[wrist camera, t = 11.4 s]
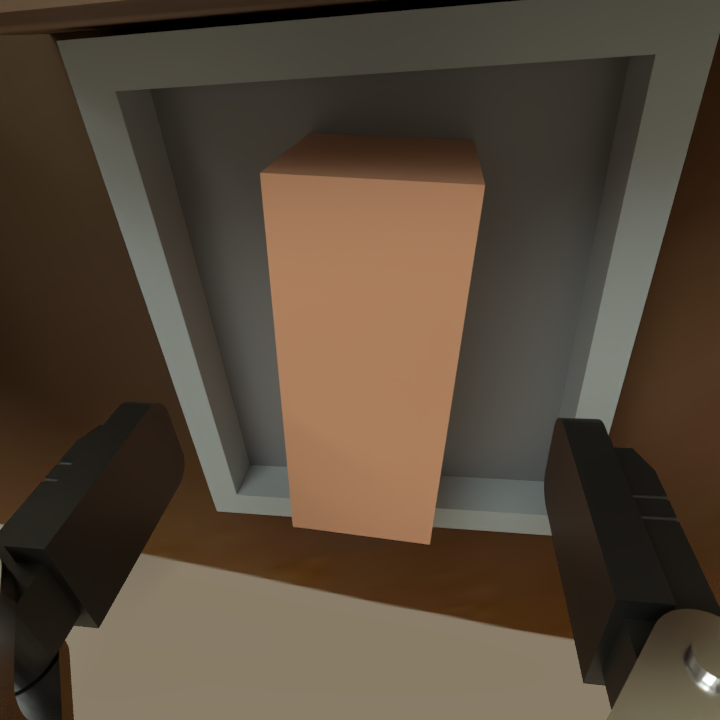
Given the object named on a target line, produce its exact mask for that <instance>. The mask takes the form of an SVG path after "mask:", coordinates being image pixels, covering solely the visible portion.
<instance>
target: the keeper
mask: <svg viewBox="0 0 720 720" xmlns="http://www.w3.org/2000/svg"><path fill="white" fill-rule="evenodd" d="M719 34H720V0H519V1H508V2H496V3H485V4H473V5H462V6H450V7H439V8H428V9H416V10H405V11H393V12H382V13H370V14H359V15H348V16H336V17H325V18H313V19H302V20H290V21H279V22H268V23H256V24H245V25H233V26H222V27H210V28H199V29H188V30H176V31H165V32H153V33H142V34H130V35H119V36H108V37H96V38H85V39H73V40H62V41H56V42H57V45H58V48H59V50H60V53H61V56H62V59H63V62H64V65H65V68H66V71H67V74H68V77H69V80H70V83H71V86H72V88H73V91H74V94H75V97H76V100H77V103H78V106H79V109H80V112H81V115H82V118H83V121H84V124H85V126H86V129H87V132H88V135H89V138H90V141H91V144H92V147H93V150H94V153H95V156H96V159H97V162H98V165H99V167H100V170H101V173H102V176H103V179H104V182H105V185H106V188H107V191H108V194H109V197H110V200H111V203H112V205H113V208H114V211H115V214H116V217H117V220H118V223H119V226H120V229H121V232H122V235H123V238H124V241H125V244H126V246H127V249H128V252H129V255H130V258H131V261H132V264H133V267H134V270H135V273H136V276H137V279H138V282H139V284H140V287H141V290H142V293H143V296H144V299H145V302H146V305H147V308H148V311H149V314H150V317H151V320H152V323H153V325H154V328H155V331H156V334H157V337H158V340H159V343H160V346H161V349H162V352H163V355H164V358H165V361H166V363H167V366H168V369H169V372H170V375H171V378H172V381H173V384H174V387H175V390H176V393H177V396H178V399H179V402H180V404H181V407H182V410H183V413H184V416H185V419H186V422H187V425H188V428H189V431H190V434H191V437H192V440H193V442H194V445H195V448H196V451H197V454H198V457H199V460H200V463H201V466H202V469H203V472H204V475H205V478H206V480H207V483H208V486H209V489H210V492H211V495H212V498H213V501H214V504H215V507H216V510H217V511H220V512H234V513H248V514H262V515H275V516H289V517H292V512H291V501H290V490H289V480H288V469H287V458H286V447H285V437H284V426H283V415H282V404H281V394H280V383H279V372H278V362H277V351H276V340H275V329H274V319H273V308H272V297H271V286H270V276H269V265H268V254H267V243H266V233H265V222H264V211H263V201H262V190H261V179H260V172H262V171H263V170H264V169H265V168H267V167H268V166H269V165H270V164H272V163H273V162H274V161H275V160H277V159H278V158H279V157H280V156H282V155H283V154H284V153H285V152H286V151H288V150H289V149H290V148H291V147H293V146H294V145H295V144H296V143H298V142H299V141H300V140H301V139H303V138H304V137H305V136H306V135H308V134H309V133H322V134H344V135H367V136H389V137H412V138H434V139H457V140H474V142H475V146H476V150H477V154H478V158H479V162H480V166H481V170H482V174H483V178H484V182H485V190H484V196H483V203H482V209H481V216H480V222H479V229H478V235H477V242H476V248H475V255H474V261H473V268H472V274H471V281H470V287H469V294H468V300H467V307H466V313H465V320H464V326H463V332H462V339H461V345H460V352H459V358H458V365H457V371H456V378H455V384H454V391H453V397H452V404H451V410H450V417H449V423H448V430H447V436H446V443H445V449H444V456H443V462H442V469H441V475H440V482H439V488H438V495H437V501H436V507H435V514H434V520H433V527H441V528H455V529H468V530H482V531H496V532H510V533H524V534H537V535H551V536H552V533H551V529H550V524H549V519H548V515H547V510H546V505H545V497H544V477H545V470H546V465H547V460H548V455H549V450H550V445H551V440H552V435H553V430H554V425H555V422H556V420H557V418H584V419H600V420H601V421H602V422H603V423H604V425H605V428H606V430H607V433H608V435H609V432H610V428H611V425H612V421H613V417H614V414H615V410H616V406H617V403H618V399H619V396H620V392H621V388H622V385H623V381H624V378H625V374H626V370H627V367H628V363H629V360H630V356H631V352H632V349H633V345H634V341H635V338H636V334H637V331H638V327H639V323H640V320H641V316H642V313H643V309H644V305H645V302H646V298H647V294H648V291H649V287H650V284H651V280H652V276H653V273H654V269H655V266H656V262H657V258H658V255H659V251H660V247H661V244H662V240H663V237H664V233H665V229H666V226H667V222H668V219H669V215H670V211H671V208H672V204H673V200H674V197H675V193H676V190H677V186H678V182H679V179H680V175H681V172H682V168H683V164H684V161H685V157H686V153H687V150H688V146H689V143H690V139H691V135H692V132H693V128H694V125H695V121H696V117H697V114H698V110H699V106H700V103H701V99H702V96H703V92H704V88H705V85H706V81H707V78H708V74H709V70H710V67H711V63H712V59H713V56H714V52H715V49H716V45H717V41H718V38H719Z"/></svg>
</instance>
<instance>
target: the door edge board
mask: <svg viewBox="0 0 720 720" xmlns="http://www.w3.org/2000/svg"><path fill="white" fill-rule="evenodd" d="M407 1H418V0H0V35H25V34H53V33H64V32H75V31H86V30H97V29H108V28H119V27H130V26H141V25H152V24H163V23H174V22H186V21H197V20H208V19H219V18H230V17H241V16H252V15H263V14H274V13H285V12H296V11H307V10H319V9H330V8H341V7H352V6H363V5H374V4H385V3H396V2H407Z"/></svg>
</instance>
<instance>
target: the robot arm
mask: <svg viewBox="0 0 720 720" xmlns="http://www.w3.org/2000/svg"><path fill="white" fill-rule="evenodd" d="M59 462H60V464H59V465H56V466H55V467H54V468H53V469H52V470H51V472H50V473H49V474H48V475H47V476H46V477H45V478H46V480H45V482H41V483H40V484H39V485H38V487H37V488H36V489H35V490H34V491H33V492H32V494H31V495H30V496H29V497H28V498H27V499H26V501H25V502H24V503H23V504H22V505H21V506H20V508H19V509H18V510H17V511H16V512H15V513H14V514H13V516H12V517H11V518H10V519H9V520H8V521H7V523H6V524H5V525H4V526H3V527H2V529H1V530H0V720H74V715H73V700H72V685H71V670H70V655H69V648H68V645H67V643H66V641H65V639H66V637H67V636H68V634H69V632H70V630H71V629H72V627H73V626H83V627H92V628H99V627H100V625H101V623H102V622H103V620H104V618H105V616H106V614H107V613H108V611H109V609H110V607H111V605H112V603H113V602H114V600H115V598H116V596H117V595H118V593H119V591H120V589H121V588H122V586H123V584H124V582H125V581H126V579H127V577H128V575H129V573H130V572H131V570H132V568H133V566H134V564H135V563H136V561H137V559H138V557H139V556H140V554H141V552H142V550H143V548H144V547H145V545H146V543H147V541H148V540H149V538H150V536H151V534H152V532H153V531H154V529H155V527H156V525H157V524H158V522H159V520H160V518H161V516H162V515H163V513H164V511H165V509H166V507H167V506H168V504H169V502H170V500H171V499H172V497H173V495H174V493H175V491H176V490H177V488H178V486H179V484H180V482H181V480H182V477H183V473H184V455H183V452H182V449H181V447H180V444H179V441H178V439H177V436H176V433H175V431H174V428H173V425H172V423H171V420H170V417H169V414H168V412H167V410H166V408H165V407H164V406H163V405H162V404H160V403H136V402H125V403H123V404H121V405H120V406H119V407H118V408H117V409H116V411H115V412H114V413H113V414H112V415H111V417H110V418H109V419H108V420H107V421H106V423H105V424H104V425H99V426H98V427H96V428H95V429H93V430H92V431H91V432H89V433H88V434H86V435H85V436H84V437H82V438H81V439H79V440H78V441H76V442H75V444H74V445H73V446H72V447H71V448H70V449H69V451H68V452H67V453H66V454H65V455H64V456H63V458H62V459H61V460H60V461H59ZM666 496H667V495H666V493H665V491H664V489H663V487H662V485H661V483H660V481H659V478H658V476H657V474H656V472H655V470H654V469H653V468H652V467H651V466H650V465H649V464H648V463H647V462H646V461H645V460H644V459H643V458H642V457H641V456H640V455H639V454H638V453H636V452H635V451H634V450H633V449H632V448H613V445H612V443H611V440H610V438H609V435H608V433H607V430H606V428H605V425H604V423H603V422H602V421H601V420H600V419H584V418H557V420H556V422H555V425H554V430H553V435H552V440H551V445H550V450H549V455H548V460H547V465H546V470H545V477H544V497H545V505H546V510H547V515H548V519H549V524H550V529H551V533H552V538H553V543H554V547H555V552H556V557H557V561H558V566H559V571H560V575H561V580H562V585H563V589H564V594H565V599H566V604H567V608H568V613H569V618H570V622H571V627H572V632H573V636H574V641H575V646H576V650H577V655H578V659H579V664H580V669H581V674H582V678H583V683H587V684H596V685H605V686H606V690H607V694H608V698H609V702H610V706H611V712H610V714H609V716H608V718H607V720H720V607H719V606H718V603H717V601H716V599H715V597H714V595H713V593H712V591H711V589H710V587H709V584H708V582H707V580H706V578H705V576H704V574H703V572H702V570H701V567H700V565H699V563H698V561H697V559H696V557H695V555H694V553H693V550H692V548H691V546H690V544H689V542H688V540H687V538H686V536H685V534H684V531H683V529H682V527H681V525H680V523H679V522H677V520H676V514H675V512H674V510H673V508H672V506H671V504H670V502H669V501H667V499H666Z"/></svg>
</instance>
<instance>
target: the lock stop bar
mask: <svg viewBox="0 0 720 720" xmlns="http://www.w3.org/2000/svg"><path fill="white" fill-rule="evenodd" d="M260 179H261V190H262V201H263V211H264V222H265V233H266V243H267V254H268V265H269V276H270V286H271V297H272V308H273V319H274V329H275V340H276V351H277V362H278V372H279V383H280V394H281V404H282V415H283V426H284V437H285V447H286V458H287V469H288V480H289V490H290V501H291V512H292V523H293V527H300V528H308V529H315V530H323V531H330V532H338V533H346V534H353V535H361V536H368V537H376V538H384V539H391V540H399V541H406V542H414V543H422V544H429V545H430V540H431V533H432V527H433V520H434V514H435V507H436V501H437V495H438V488H439V482H440V475H441V469H442V462H443V456H444V449H445V443H446V436H447V430H448V423H449V417H450V410H451V404H452V397H453V391H454V384H455V378H456V371H457V365H458V358H459V352H460V345H461V339H462V332H463V326H464V320H465V313H466V307H467V300H468V294H469V287H470V281H471V274H472V268H473V261H474V255H475V248H476V242H477V235H478V229H479V222H480V216H481V209H482V203H483V196H484V190H485V182H484V178H483V174H482V170H481V166H480V162H479V158H478V154H477V150H476V146H475V142H474V140H457V139H434V138H412V137H389V136H367V135H344V134H322V133H309V134H308V135H306V136H305V137H304V138H303V139H301V140H300V141H299V142H298V143H296V144H295V145H294V146H293V147H291V148H290V149H289V150H288V151H286V152H285V153H284V154H283V155H282V156H280V157H279V158H278V159H277V160H275V161H274V162H273V163H272V164H270V165H269V166H268V167H267V168H265V169H264V170H263V171H262V172H260Z"/></svg>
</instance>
